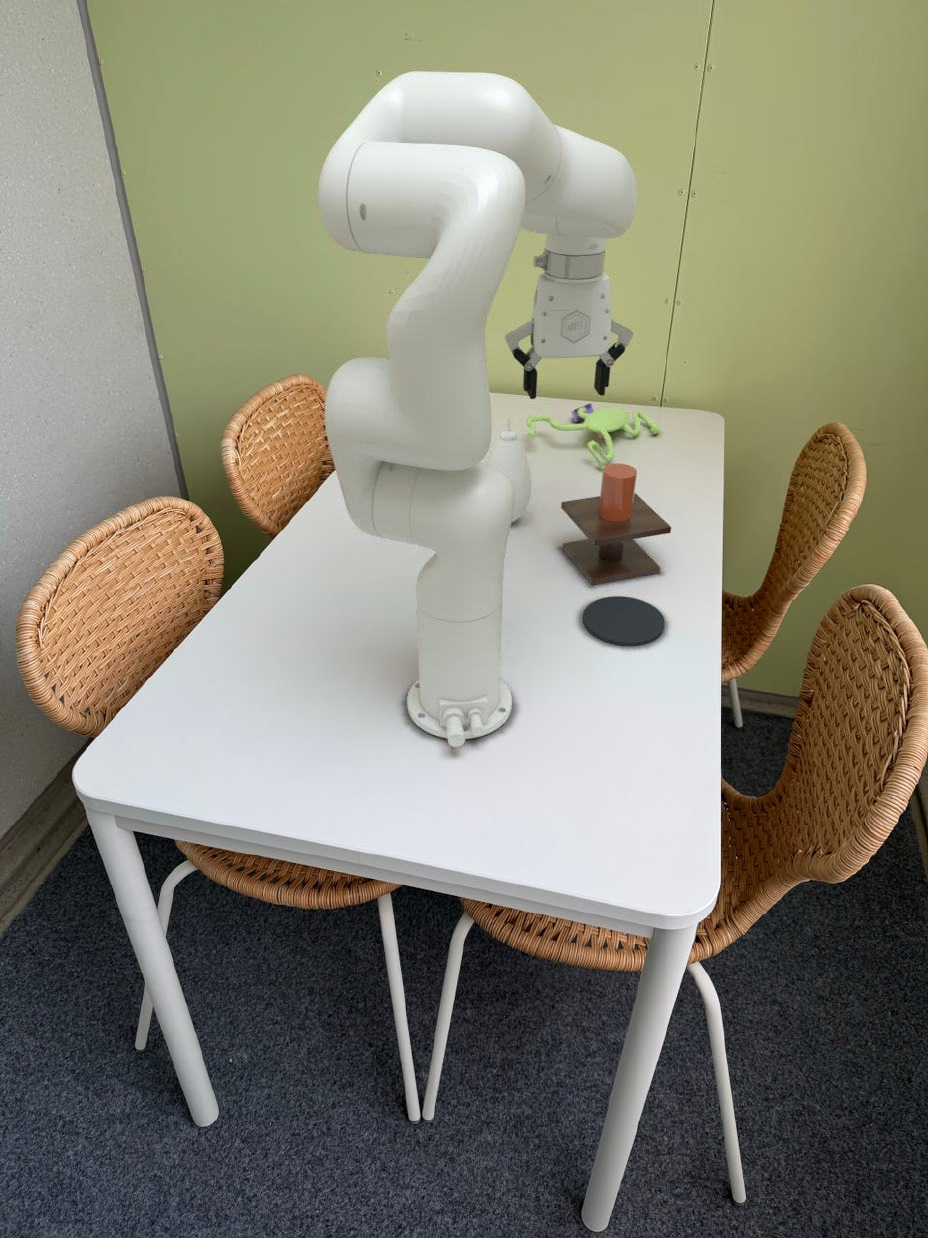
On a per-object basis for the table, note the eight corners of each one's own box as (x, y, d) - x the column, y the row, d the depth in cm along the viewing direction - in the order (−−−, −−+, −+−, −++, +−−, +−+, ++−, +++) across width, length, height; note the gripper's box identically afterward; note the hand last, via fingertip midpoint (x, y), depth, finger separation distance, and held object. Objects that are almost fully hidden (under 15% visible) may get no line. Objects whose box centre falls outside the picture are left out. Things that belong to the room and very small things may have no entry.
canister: (635, 521, 126) (640, 477, 122) (602, 522, 125) (607, 478, 121) (626, 505, 130) (632, 462, 126) (595, 507, 129) (599, 463, 125)
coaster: (674, 643, 115) (675, 639, 114) (592, 648, 114) (593, 644, 114) (651, 597, 124) (651, 594, 123) (575, 601, 123) (575, 598, 123)
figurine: (511, 449, 165) (512, 421, 162) (589, 408, 182) (591, 382, 179) (593, 476, 156) (596, 447, 153) (667, 430, 172) (671, 403, 169)
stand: (664, 574, 129) (671, 527, 124) (590, 587, 126) (595, 539, 121) (627, 536, 138) (633, 490, 134) (557, 547, 135) (561, 501, 131)
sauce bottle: (528, 509, 145) (533, 406, 135) (530, 533, 139) (535, 426, 129) (482, 509, 146) (483, 406, 135) (481, 532, 139) (483, 426, 129)
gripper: (512, 274, 107) (508, 407, 117) (648, 269, 109) (633, 400, 118) (502, 259, 113) (499, 387, 123) (631, 255, 115) (618, 381, 125)
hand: (565, 393), depth 121 cm, fingers open, 9 cm apart
